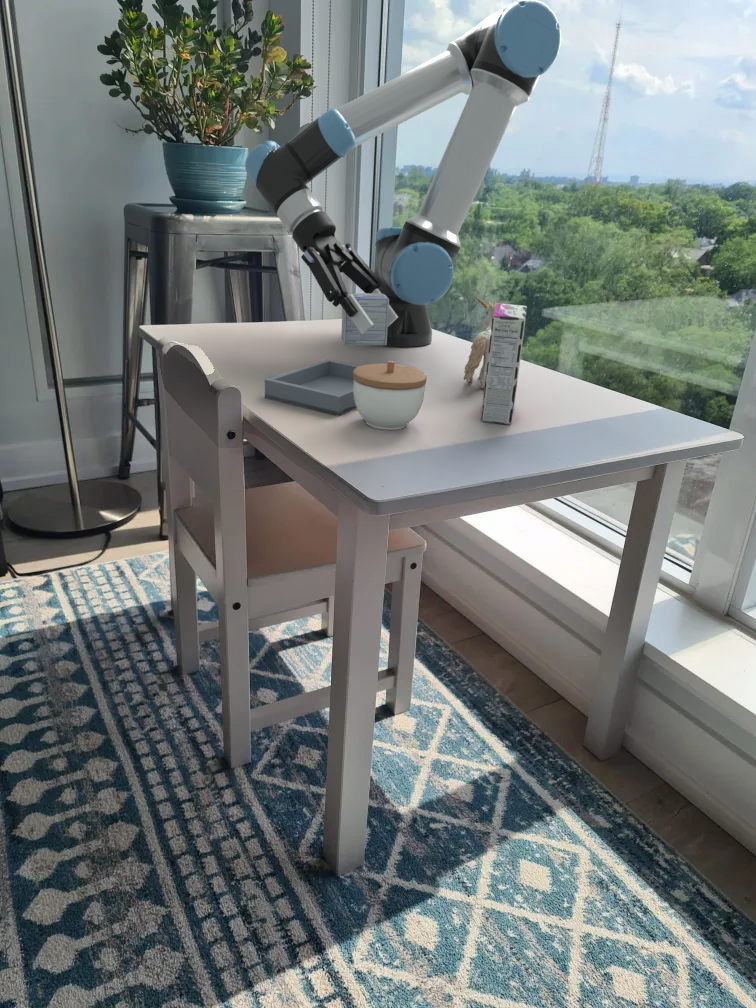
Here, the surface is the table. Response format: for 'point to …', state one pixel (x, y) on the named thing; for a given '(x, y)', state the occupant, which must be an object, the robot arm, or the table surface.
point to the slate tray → (316, 387)
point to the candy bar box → (503, 363)
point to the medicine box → (377, 313)
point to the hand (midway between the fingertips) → (380, 325)
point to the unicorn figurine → (480, 347)
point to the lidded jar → (388, 394)
